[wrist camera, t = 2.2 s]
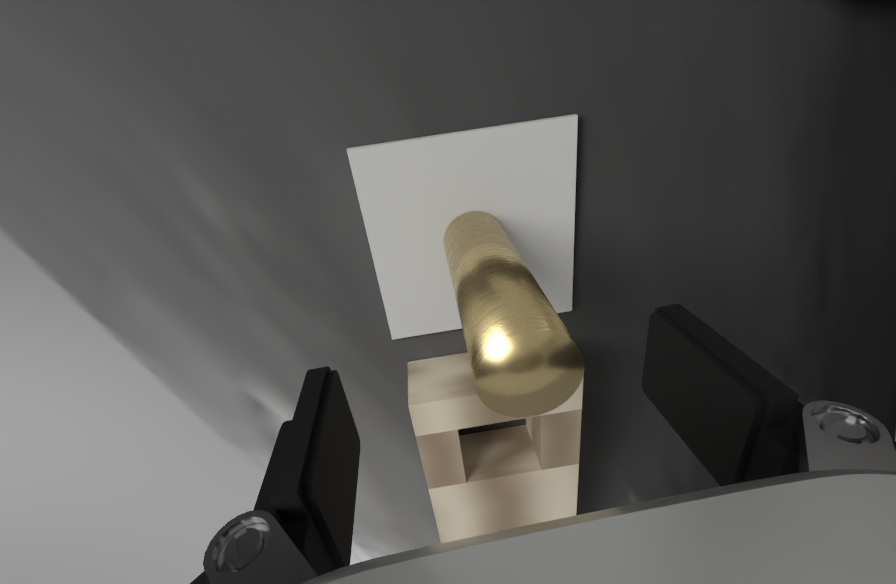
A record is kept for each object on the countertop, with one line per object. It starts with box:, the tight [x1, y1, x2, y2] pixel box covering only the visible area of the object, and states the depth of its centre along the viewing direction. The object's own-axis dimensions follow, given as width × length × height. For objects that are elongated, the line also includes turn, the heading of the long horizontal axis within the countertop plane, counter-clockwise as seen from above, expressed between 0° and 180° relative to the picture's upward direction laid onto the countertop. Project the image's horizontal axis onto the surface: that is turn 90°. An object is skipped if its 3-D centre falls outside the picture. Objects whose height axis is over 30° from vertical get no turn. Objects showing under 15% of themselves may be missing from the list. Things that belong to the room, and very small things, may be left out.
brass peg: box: [443, 211, 585, 418], centre depth 15 cm, size 3×3×10 cm
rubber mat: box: [347, 114, 578, 340], centre depth 20 cm, size 10×10×1 cm
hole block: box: [408, 352, 584, 543], centre depth 27 cm, size 9×20×4 cm, turn 7°
